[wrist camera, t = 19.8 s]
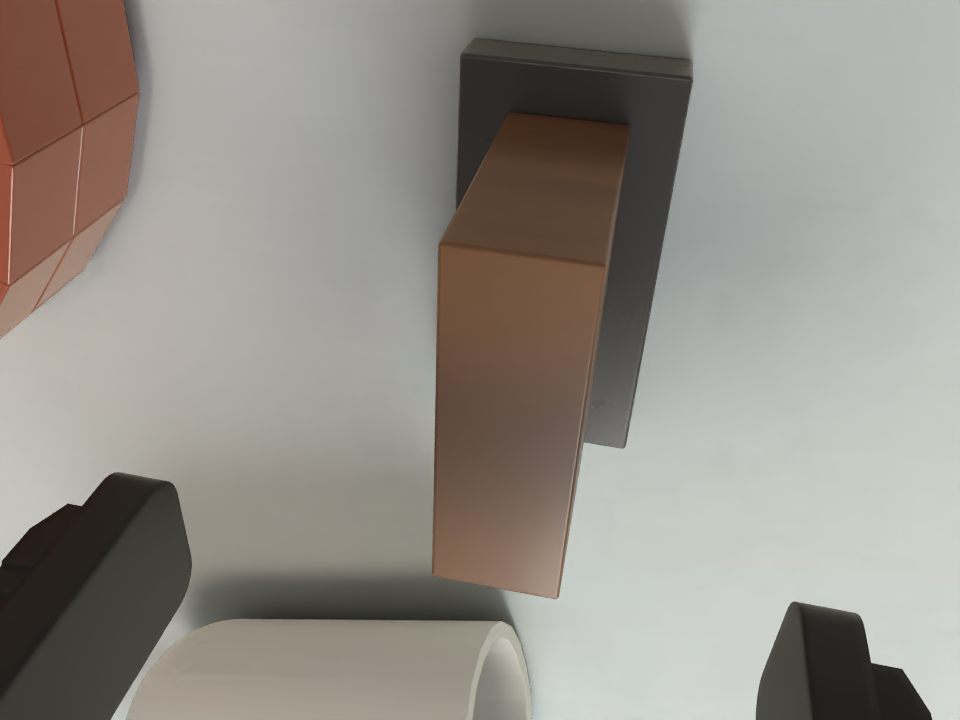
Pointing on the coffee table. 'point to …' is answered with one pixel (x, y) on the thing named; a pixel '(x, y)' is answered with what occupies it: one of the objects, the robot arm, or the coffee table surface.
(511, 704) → the mug
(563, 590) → the coffee table surface
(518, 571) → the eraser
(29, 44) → the bowl
